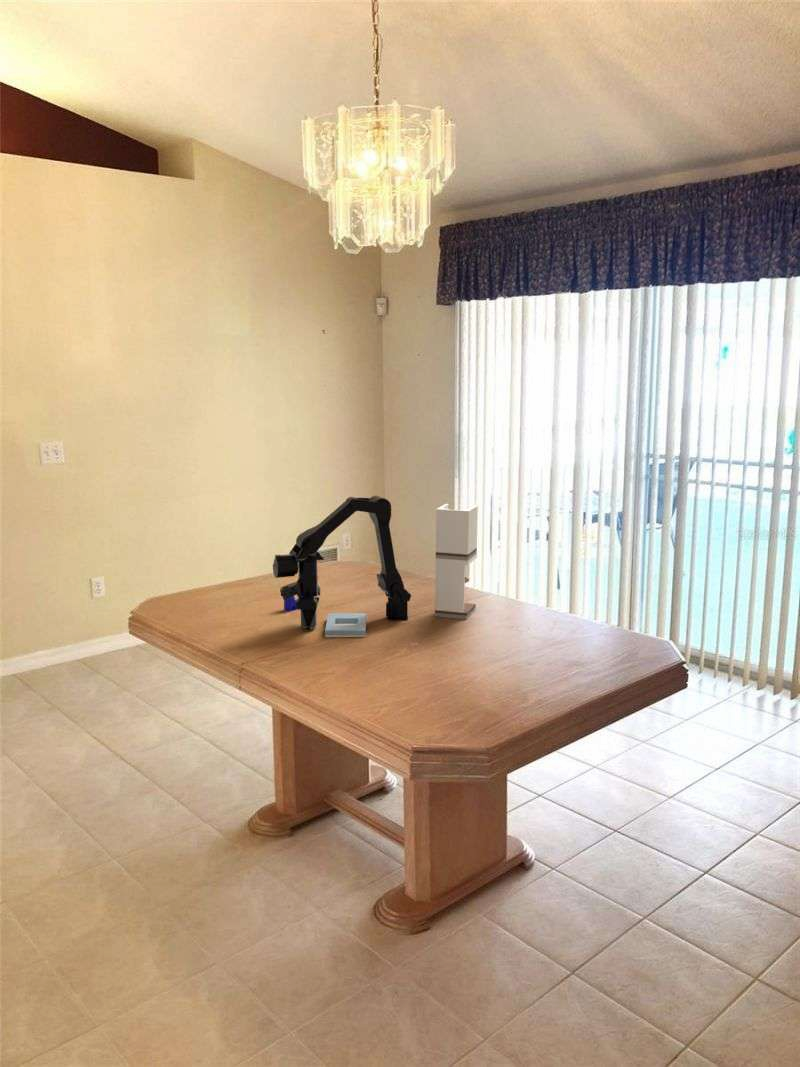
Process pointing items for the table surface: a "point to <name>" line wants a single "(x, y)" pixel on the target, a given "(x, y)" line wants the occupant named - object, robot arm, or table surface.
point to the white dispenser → (454, 560)
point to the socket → (346, 625)
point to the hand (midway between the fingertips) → (308, 624)
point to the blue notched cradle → (290, 604)
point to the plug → (313, 623)
